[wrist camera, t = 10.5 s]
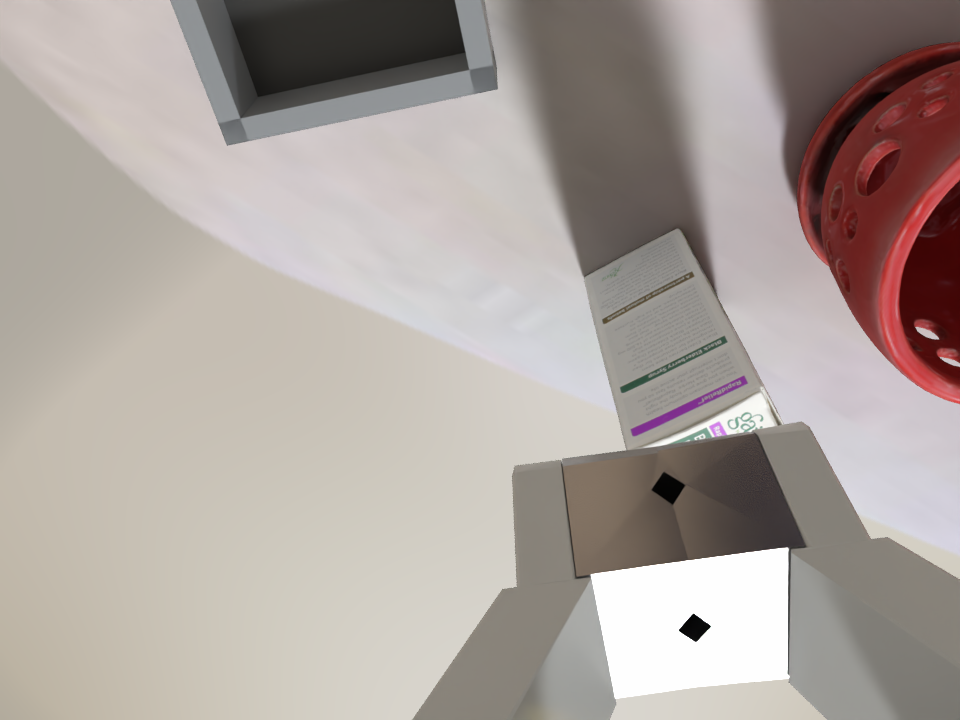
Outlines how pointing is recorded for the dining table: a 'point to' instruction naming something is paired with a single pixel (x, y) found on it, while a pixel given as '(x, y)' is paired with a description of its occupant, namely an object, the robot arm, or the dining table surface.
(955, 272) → the plant pot
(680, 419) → the syrup box
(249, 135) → the tray box
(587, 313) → the dining table surface
